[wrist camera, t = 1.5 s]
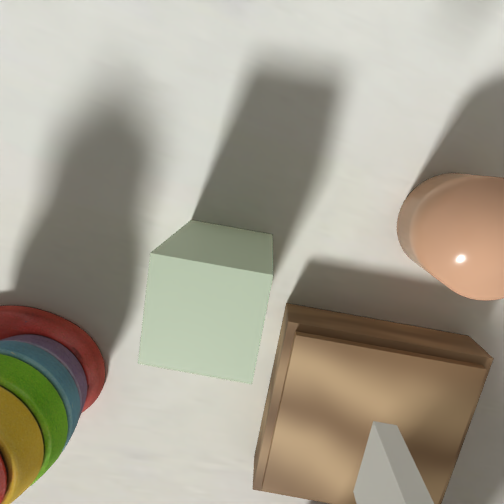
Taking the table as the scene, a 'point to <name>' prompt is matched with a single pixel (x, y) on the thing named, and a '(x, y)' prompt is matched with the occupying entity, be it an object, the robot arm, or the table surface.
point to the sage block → (207, 301)
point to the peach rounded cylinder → (457, 232)
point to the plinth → (363, 401)
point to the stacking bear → (41, 392)
